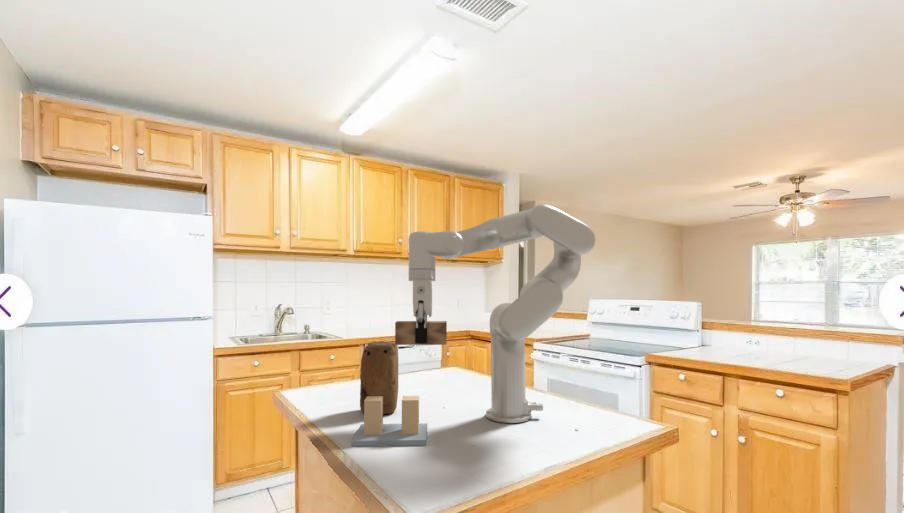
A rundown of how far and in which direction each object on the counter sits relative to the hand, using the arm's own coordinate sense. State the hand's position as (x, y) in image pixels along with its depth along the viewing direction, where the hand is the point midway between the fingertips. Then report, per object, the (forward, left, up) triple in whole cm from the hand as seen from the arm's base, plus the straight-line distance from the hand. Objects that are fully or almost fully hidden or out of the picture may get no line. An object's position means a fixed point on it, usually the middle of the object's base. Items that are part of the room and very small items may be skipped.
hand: (421, 341), depth 123 cm
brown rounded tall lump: (+13, -8, -22) cm, 26 cm away
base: (+7, +13, -21) cm, 26 cm away
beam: (0, 0, -1) cm, 1 cm away
